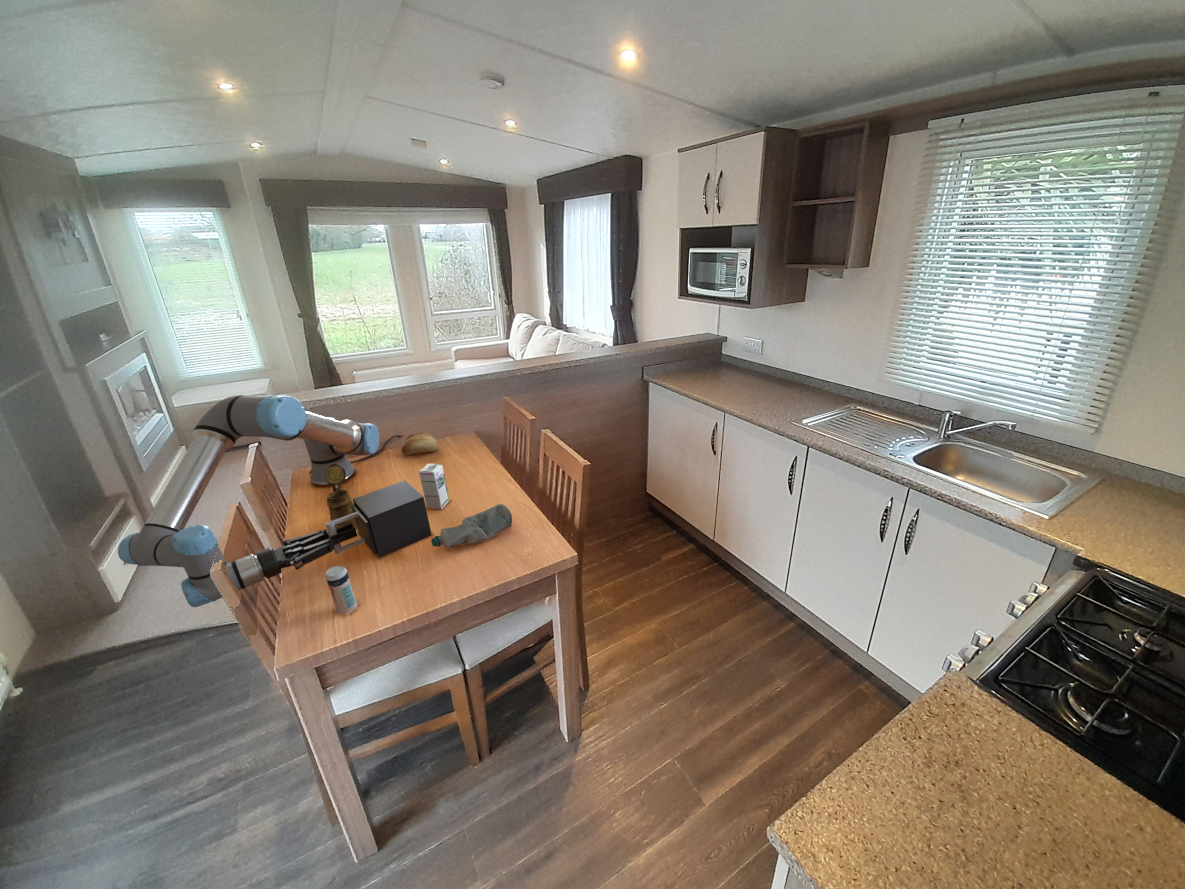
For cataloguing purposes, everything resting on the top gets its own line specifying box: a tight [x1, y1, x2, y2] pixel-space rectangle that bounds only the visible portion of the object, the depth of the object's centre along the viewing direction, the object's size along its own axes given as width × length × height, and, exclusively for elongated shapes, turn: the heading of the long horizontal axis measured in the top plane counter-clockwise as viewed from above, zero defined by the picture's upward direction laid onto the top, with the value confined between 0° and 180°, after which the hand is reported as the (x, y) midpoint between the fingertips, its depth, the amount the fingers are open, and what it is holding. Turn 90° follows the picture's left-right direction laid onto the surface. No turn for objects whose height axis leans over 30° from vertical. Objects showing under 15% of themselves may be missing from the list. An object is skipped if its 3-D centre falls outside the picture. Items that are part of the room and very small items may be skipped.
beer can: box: [324, 565, 358, 615], centre depth 117 cm, size 5×5×12 cm
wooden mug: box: [325, 463, 357, 529], centre depth 153 cm, size 9×14×18 cm, turn 23°
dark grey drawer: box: [325, 503, 377, 556], centre depth 141 cm, size 24×13×12 cm, turn 132°
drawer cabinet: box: [352, 480, 433, 559], centre depth 144 cm, size 16×14×14 cm
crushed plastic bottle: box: [430, 503, 513, 550], centre depth 144 cm, size 13×7×25 cm
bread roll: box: [400, 432, 440, 456], centre depth 200 cm, size 10×15×8 cm, turn 112°
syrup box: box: [418, 463, 450, 510], centre depth 160 cm, size 6×6×14 cm
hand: (354, 529), depth 137 cm, fingers closed on dark grey drawer, 2 cm apart
